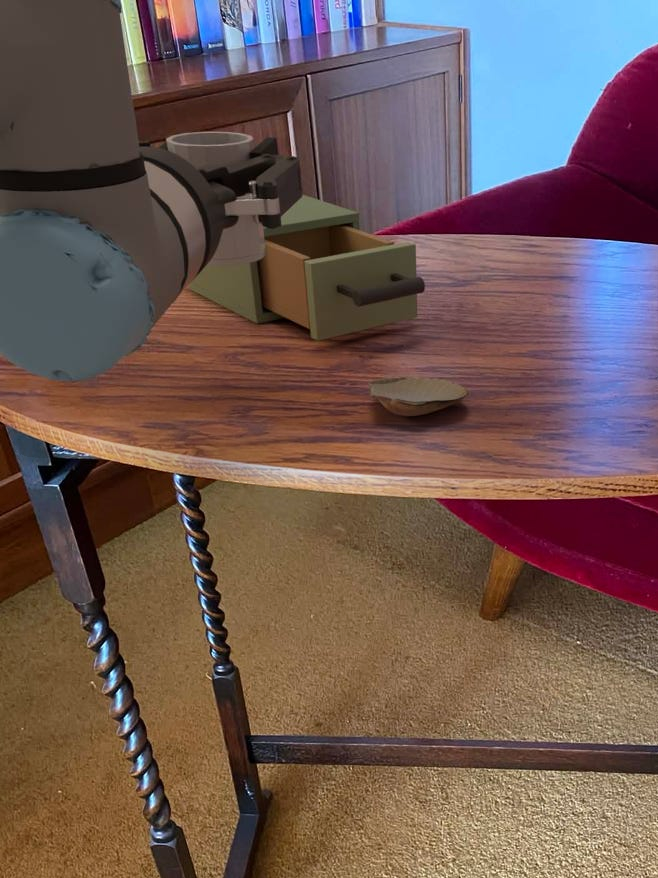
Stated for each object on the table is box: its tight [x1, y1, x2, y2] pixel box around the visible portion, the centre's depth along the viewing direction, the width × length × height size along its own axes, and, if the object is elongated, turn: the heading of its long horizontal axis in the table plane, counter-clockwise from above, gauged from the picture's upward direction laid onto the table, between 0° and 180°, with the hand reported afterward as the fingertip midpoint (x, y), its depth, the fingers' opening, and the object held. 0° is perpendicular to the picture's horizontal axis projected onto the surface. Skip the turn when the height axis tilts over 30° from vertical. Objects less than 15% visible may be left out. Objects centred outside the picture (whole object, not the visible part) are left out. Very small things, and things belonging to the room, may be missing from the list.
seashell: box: [367, 376, 469, 417], centre depth 76 cm, size 8×3×8 cm
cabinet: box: [188, 194, 361, 325], centre depth 99 cm, size 15×13×9 cm
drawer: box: [257, 224, 426, 342], centre depth 91 cm, size 18×11×7 cm, turn 40°
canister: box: [165, 131, 265, 266], centre depth 71 cm, size 6×6×8 cm
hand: (229, 156), depth 74 cm, fingers closed on canister, 6 cm apart
